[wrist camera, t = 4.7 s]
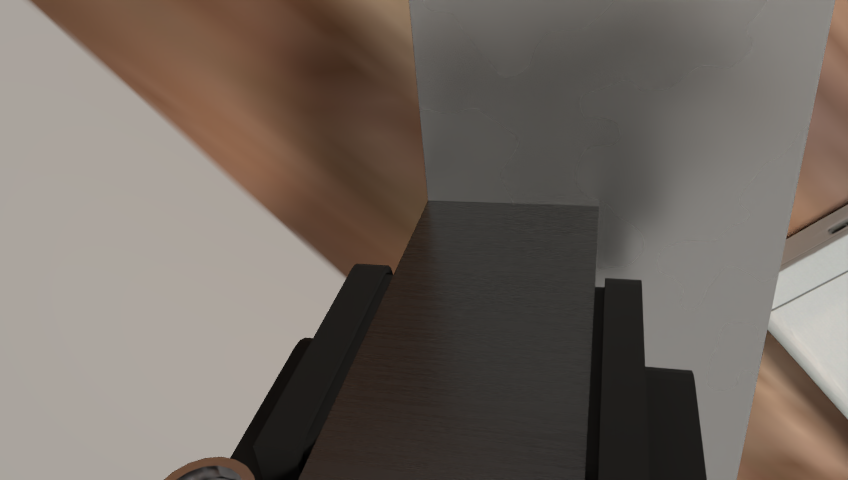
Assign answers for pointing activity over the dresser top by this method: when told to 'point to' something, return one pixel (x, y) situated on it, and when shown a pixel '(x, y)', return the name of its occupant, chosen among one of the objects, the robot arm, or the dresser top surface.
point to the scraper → (580, 226)
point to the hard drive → (816, 304)
